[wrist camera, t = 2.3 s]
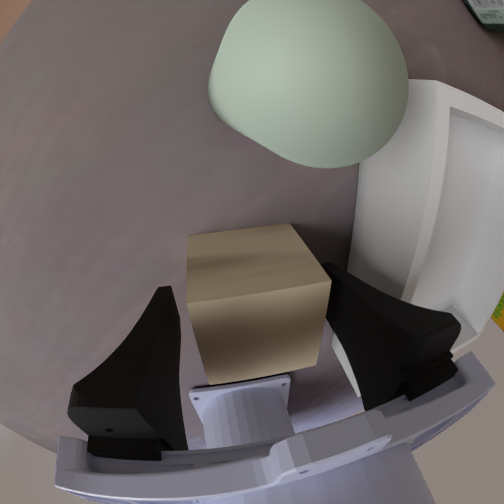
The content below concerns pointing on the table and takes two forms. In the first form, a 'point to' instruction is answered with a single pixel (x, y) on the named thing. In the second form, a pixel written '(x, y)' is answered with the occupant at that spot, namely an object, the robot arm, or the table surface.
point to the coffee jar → (488, 13)
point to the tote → (434, 211)
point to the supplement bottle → (499, 313)
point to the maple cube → (255, 302)
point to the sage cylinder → (311, 80)
